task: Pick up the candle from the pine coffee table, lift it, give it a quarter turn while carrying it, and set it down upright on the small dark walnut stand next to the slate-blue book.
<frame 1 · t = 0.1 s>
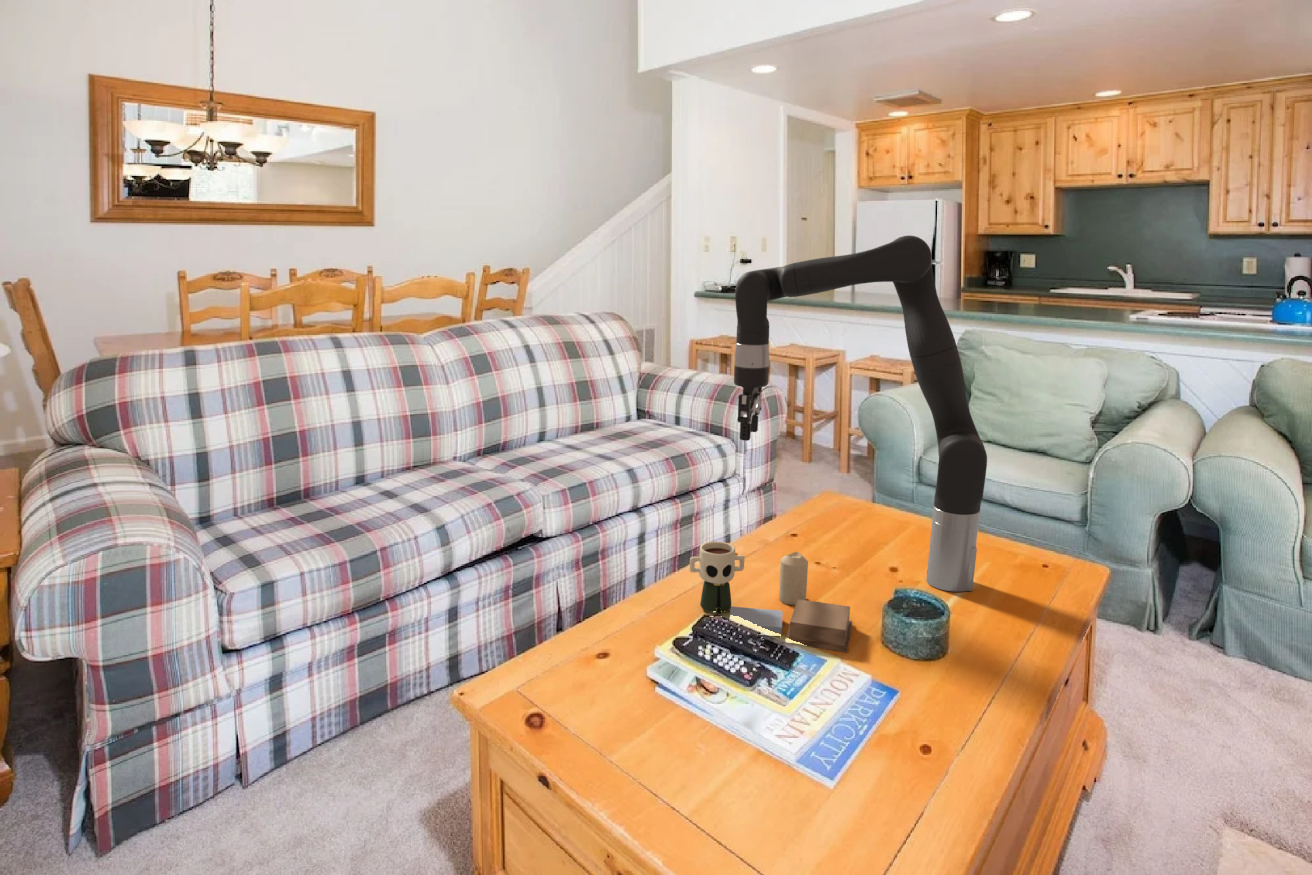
hand: (748, 435, 180), 29 cm above the table, tool pointing down, fingers open, 8 cm apart
stand: (819, 633, 152), on the table
character mug: (715, 609, 161), on the table
candle: (792, 600, 166), on the table
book: (755, 626, 154), on the table
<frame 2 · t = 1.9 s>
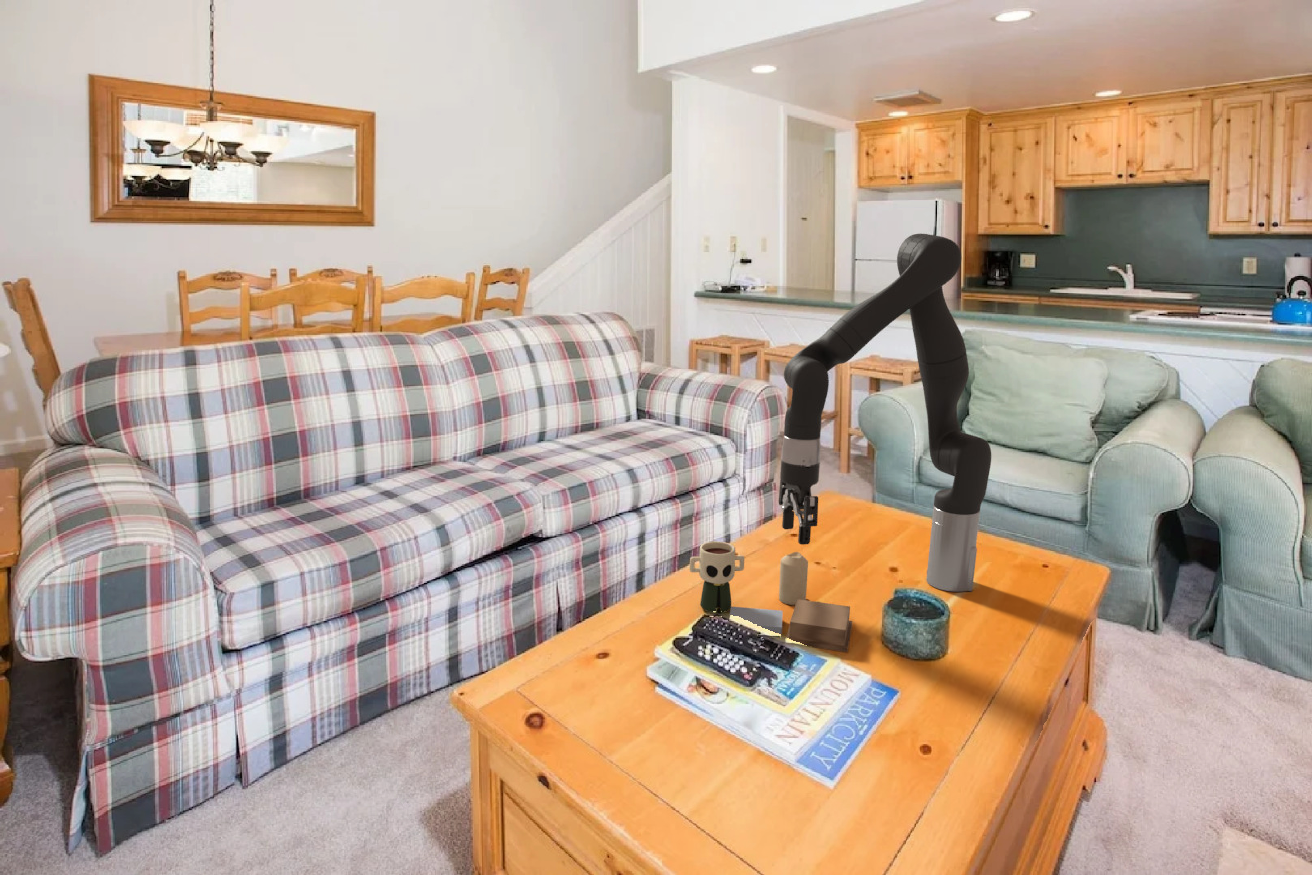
hand: (795, 536, 162), 14 cm above the table, tool pointing down, fingers open, 8 cm apart
nothing on the table moved.
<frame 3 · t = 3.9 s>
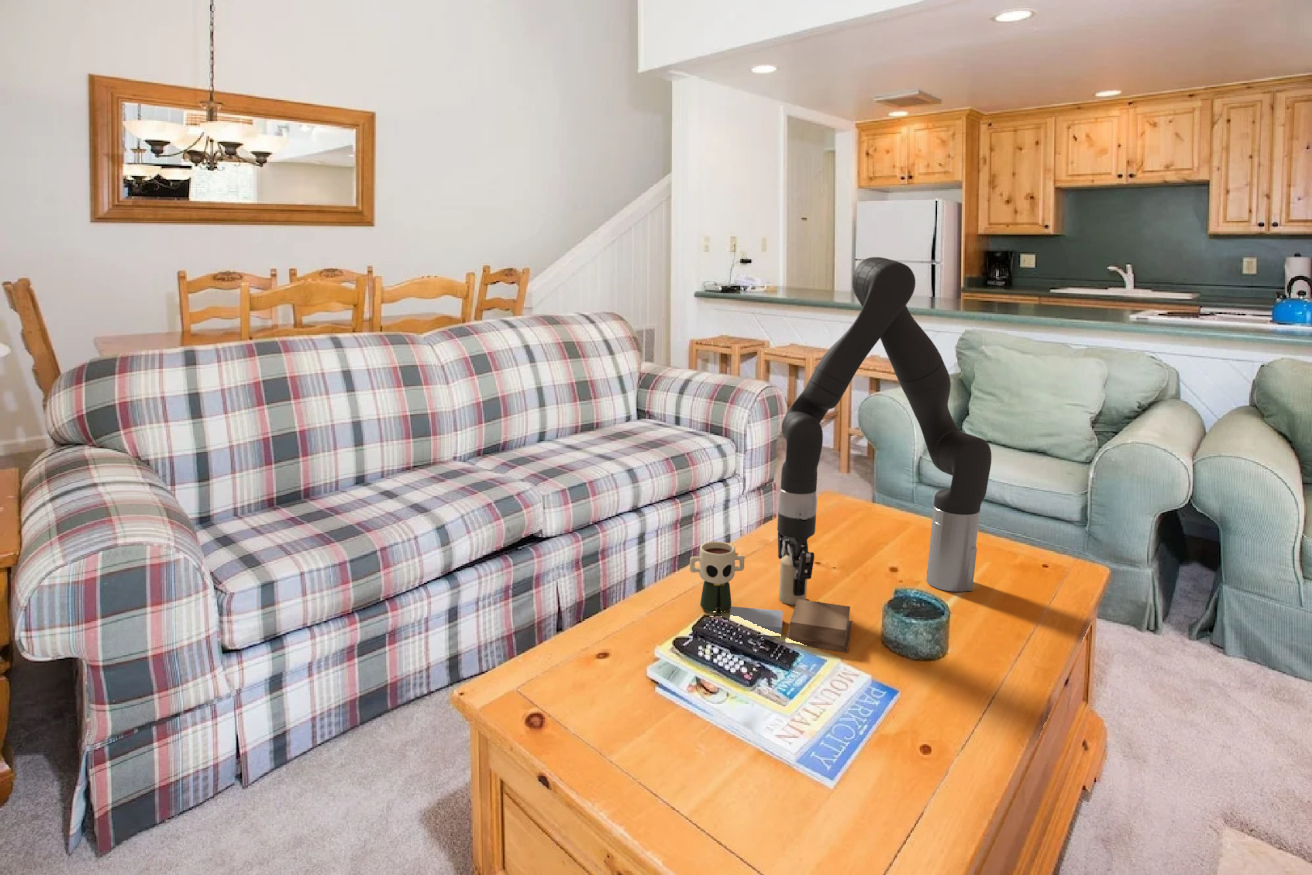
hand: (792, 588, 165), 3 cm above the table, tool pointing down, fingers closed on candle, 5 cm apart
candle: (792, 600, 166), on the table, touching gripper
everything else where it was.
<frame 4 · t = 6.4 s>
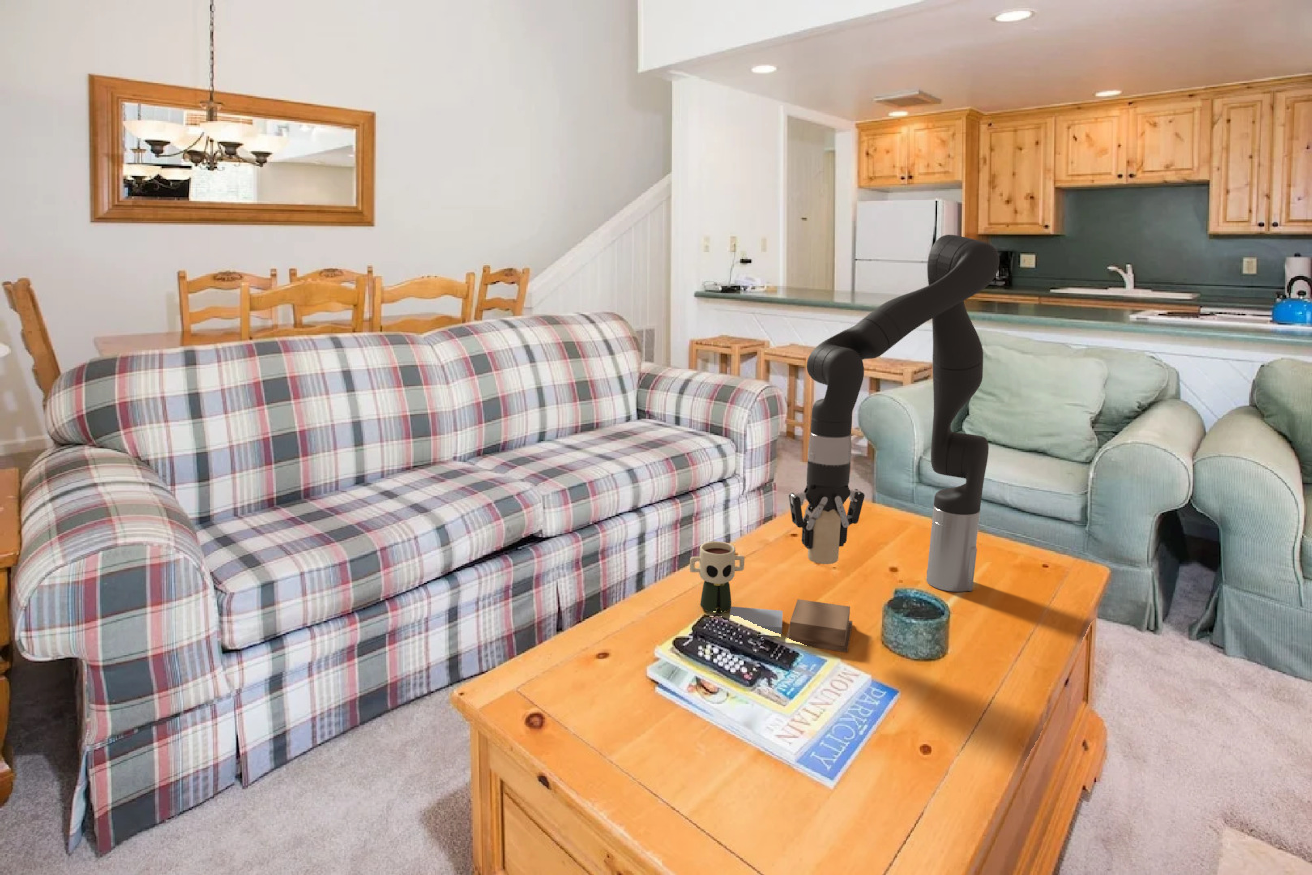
hand: (823, 545, 148), 17 cm above the table, tool pointing down, fingers closed on candle, 5 cm apart
candle: (822, 559, 148), point 15 cm above the table, touching gripper
everything else where it was.
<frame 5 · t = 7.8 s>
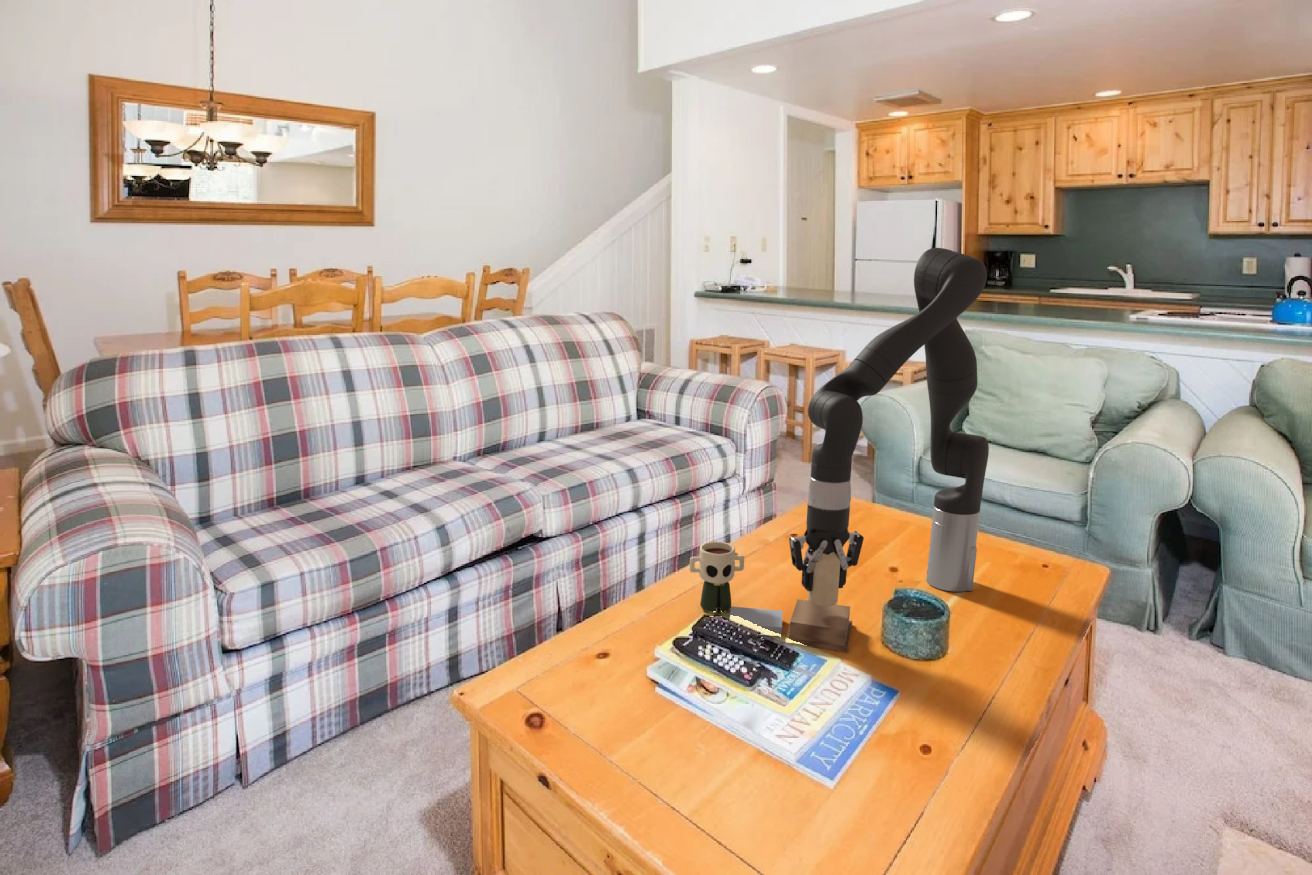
hand: (823, 587, 149), 9 cm above the table, tool pointing down, fingers closed on candle, 5 cm apart
candle: (822, 601, 150), point 7 cm above the table, touching gripper
everything else where it was.
when the fingers open (7 cm above the table, at t = 9.1 s): candle stays where it is, resting on stand.
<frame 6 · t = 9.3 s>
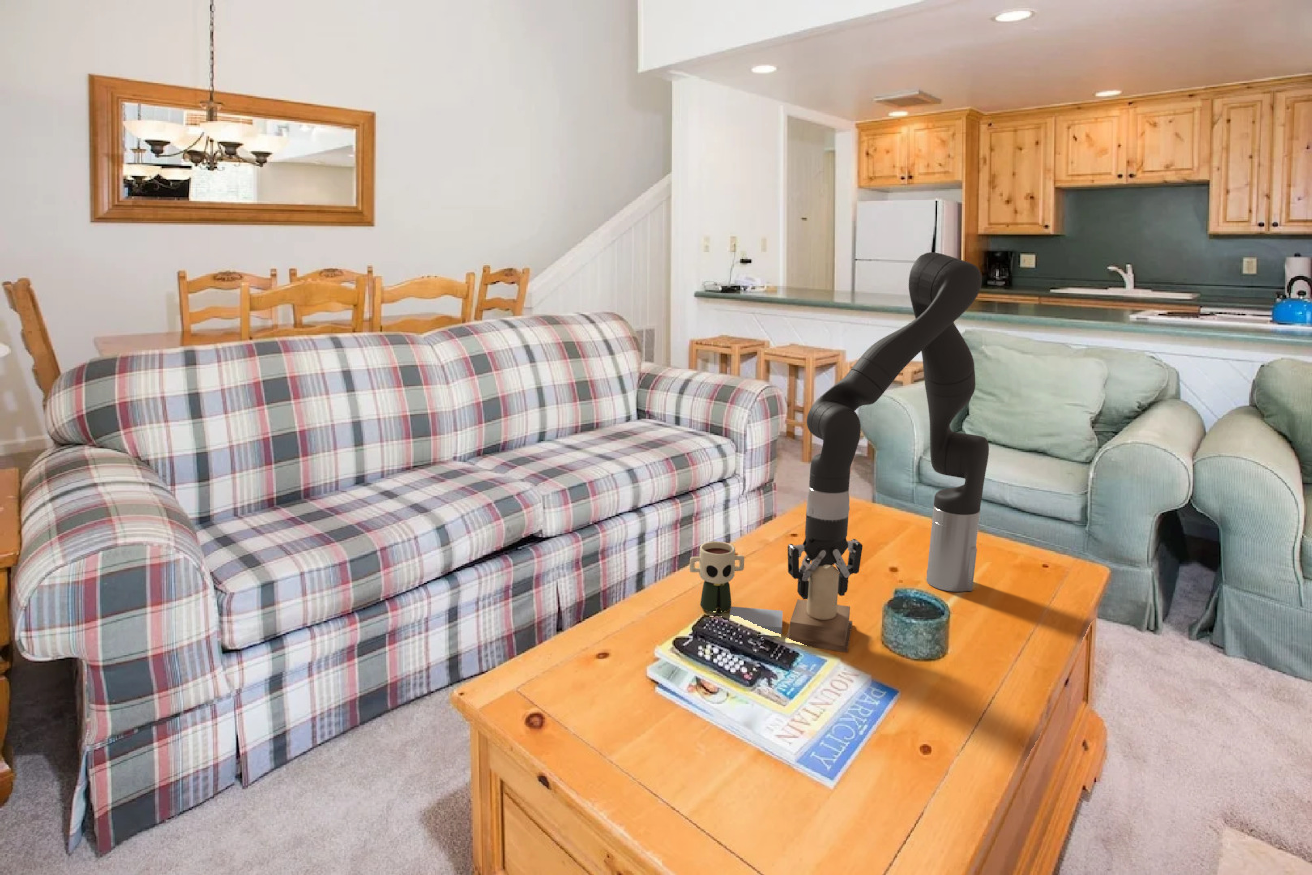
hand: (821, 595, 150), 8 cm above the table, tool pointing down, fingers open, 6 cm apart
candle: (821, 614, 151), point 4 cm above the table, touching stand
everything else where it was.
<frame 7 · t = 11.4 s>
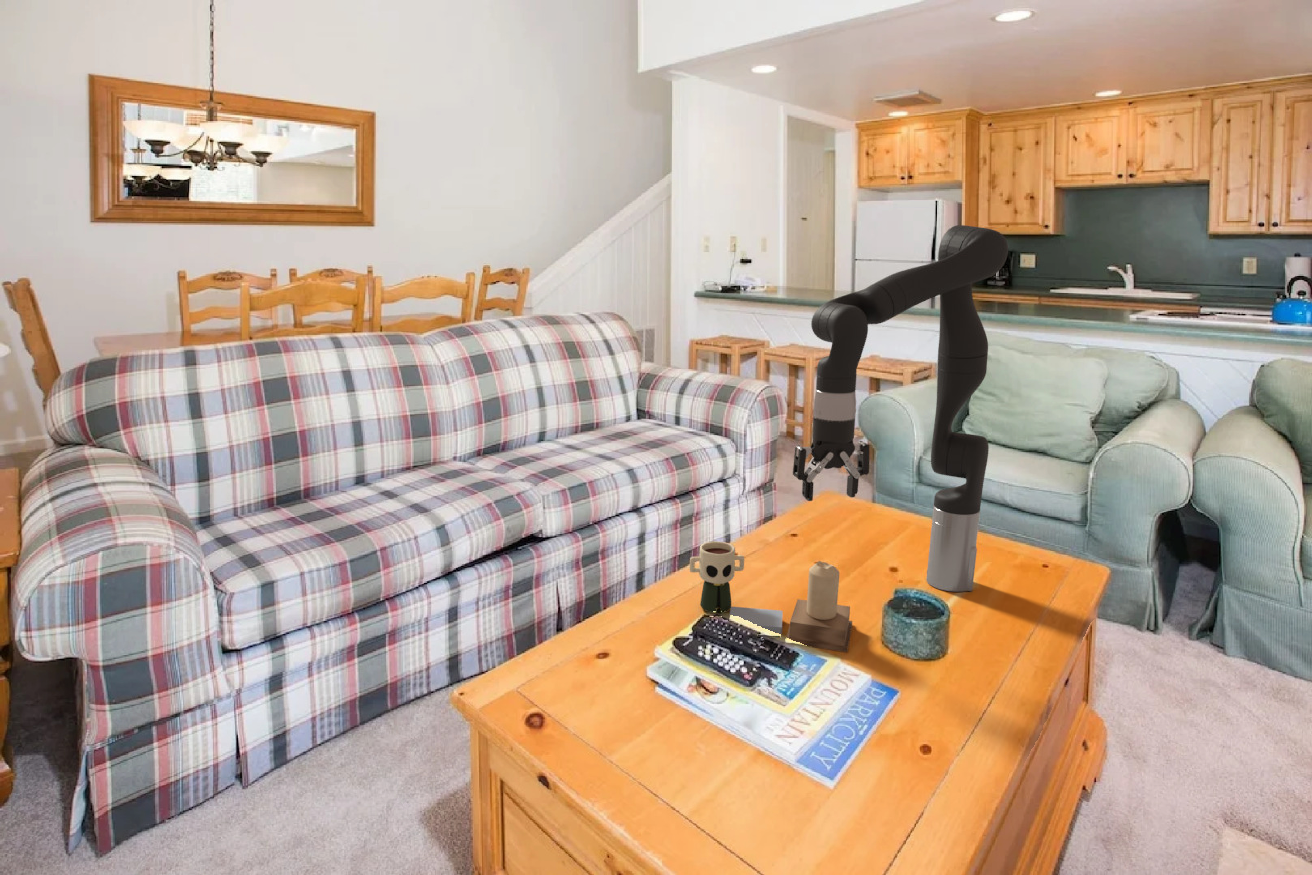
hand: (829, 497, 151), 25 cm above the table, tool pointing down, fingers open, 8 cm apart
nothing on the table moved.
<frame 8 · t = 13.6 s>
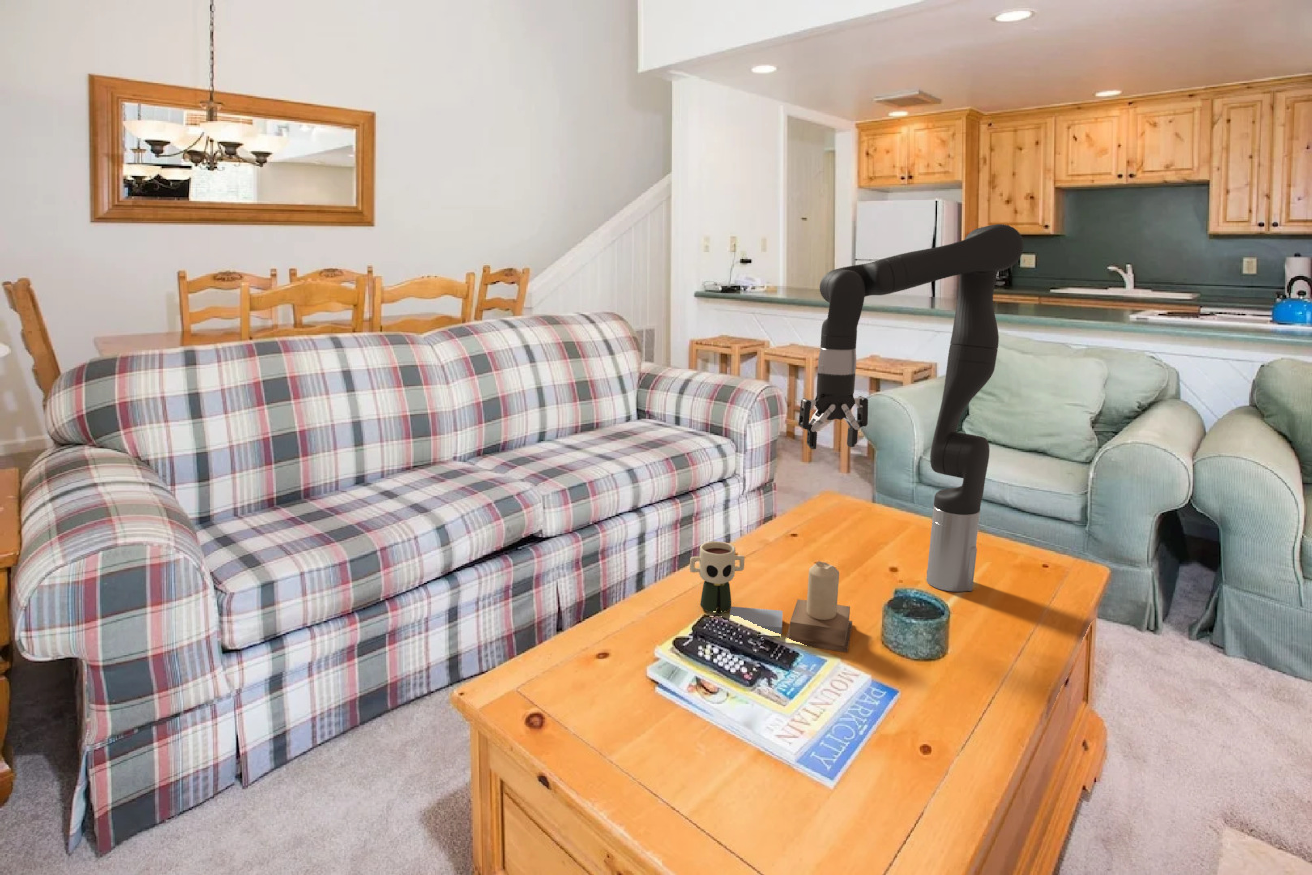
hand: (831, 447, 167), 30 cm above the table, tool pointing down, fingers open, 8 cm apart
nothing on the table moved.
at the end: candle inside the target area on the stand (0.2 cm from its centre), point 3.8 cm above the stand's base; candle tilted 0°; the gripper is holding nothing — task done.
